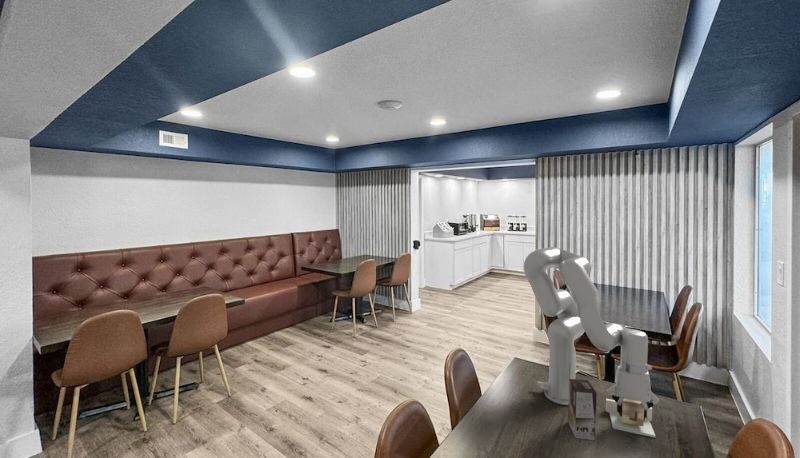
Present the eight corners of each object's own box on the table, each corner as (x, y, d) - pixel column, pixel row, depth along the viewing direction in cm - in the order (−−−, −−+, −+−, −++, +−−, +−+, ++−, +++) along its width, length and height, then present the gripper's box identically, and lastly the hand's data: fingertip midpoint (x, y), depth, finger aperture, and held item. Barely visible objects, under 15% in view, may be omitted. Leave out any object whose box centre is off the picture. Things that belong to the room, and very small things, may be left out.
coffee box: (596, 440, 115) (597, 393, 113) (574, 438, 116) (575, 391, 114) (587, 423, 123) (588, 379, 122) (567, 421, 125) (568, 377, 123)
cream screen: (606, 411, 130) (606, 400, 129) (605, 410, 131) (606, 398, 131) (651, 421, 124) (652, 408, 124) (650, 419, 125) (651, 407, 125)
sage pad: (612, 428, 120) (613, 426, 120) (609, 413, 129) (609, 411, 129) (655, 437, 116) (655, 435, 115) (648, 421, 124) (649, 419, 124)
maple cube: (639, 416, 123) (640, 400, 123) (643, 426, 118) (644, 409, 117) (619, 412, 126) (620, 396, 125) (622, 422, 120) (623, 405, 120)
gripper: (661, 366, 120) (658, 416, 122) (603, 357, 127) (601, 405, 129) (667, 376, 113) (664, 429, 115) (605, 366, 121) (604, 416, 122)
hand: (631, 416), depth 122 cm, fingers closed on maple cube, 5 cm apart
